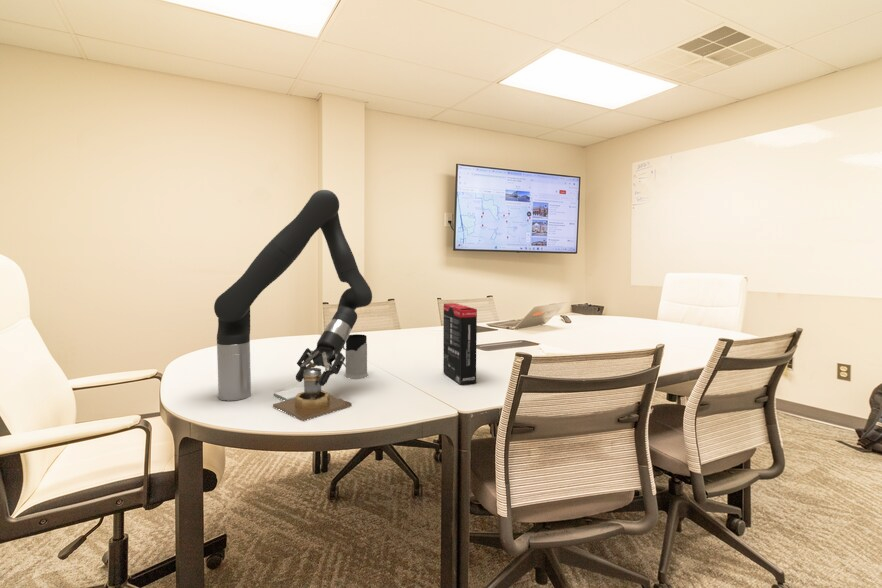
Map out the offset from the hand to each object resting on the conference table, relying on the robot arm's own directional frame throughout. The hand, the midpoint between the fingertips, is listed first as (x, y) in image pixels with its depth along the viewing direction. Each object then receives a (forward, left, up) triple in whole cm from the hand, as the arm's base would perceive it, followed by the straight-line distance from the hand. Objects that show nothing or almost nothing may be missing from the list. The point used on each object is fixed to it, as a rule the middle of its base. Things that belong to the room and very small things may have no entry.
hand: (309, 382), depth 125 cm
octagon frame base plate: (0, +1, -8) cm, 8 cm away
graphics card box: (+13, +54, -8) cm, 56 cm away
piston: (0, +1, -7) cm, 7 cm away
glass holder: (-20, +30, -8) cm, 37 cm away
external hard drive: (-14, +5, -8) cm, 17 cm away
